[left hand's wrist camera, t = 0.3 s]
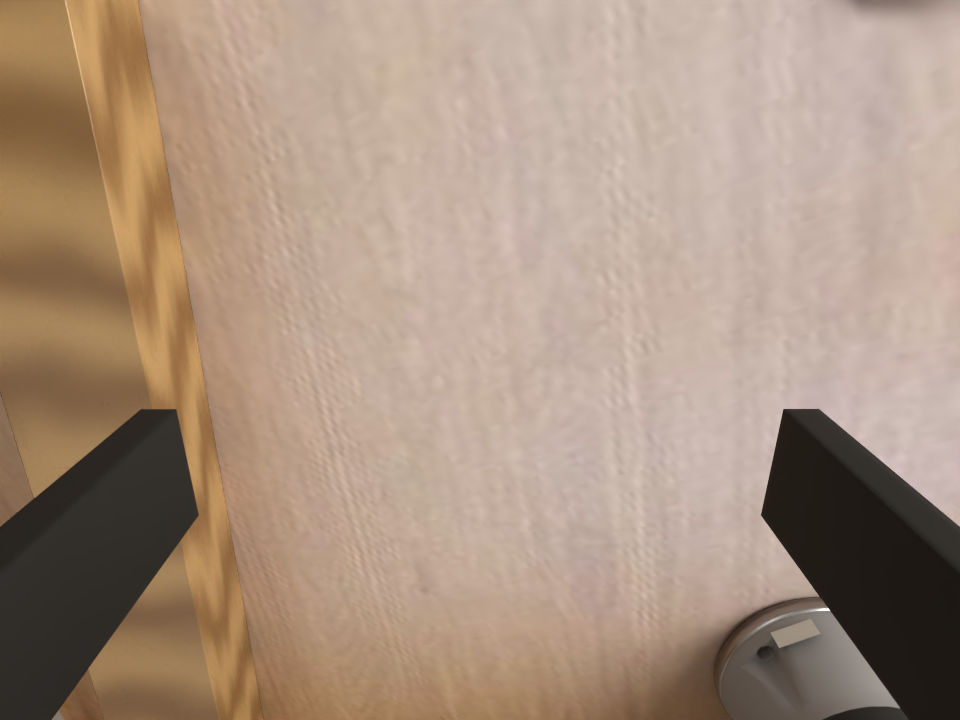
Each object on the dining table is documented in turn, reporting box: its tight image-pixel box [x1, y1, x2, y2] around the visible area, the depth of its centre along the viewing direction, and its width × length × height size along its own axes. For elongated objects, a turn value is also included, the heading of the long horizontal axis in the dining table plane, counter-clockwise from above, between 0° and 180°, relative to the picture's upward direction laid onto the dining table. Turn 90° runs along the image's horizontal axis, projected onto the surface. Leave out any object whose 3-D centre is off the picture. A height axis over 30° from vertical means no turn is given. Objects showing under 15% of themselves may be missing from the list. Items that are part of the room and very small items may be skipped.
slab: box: [0, 0, 263, 720], centre depth 41 cm, size 62×9×7 cm, turn 179°
